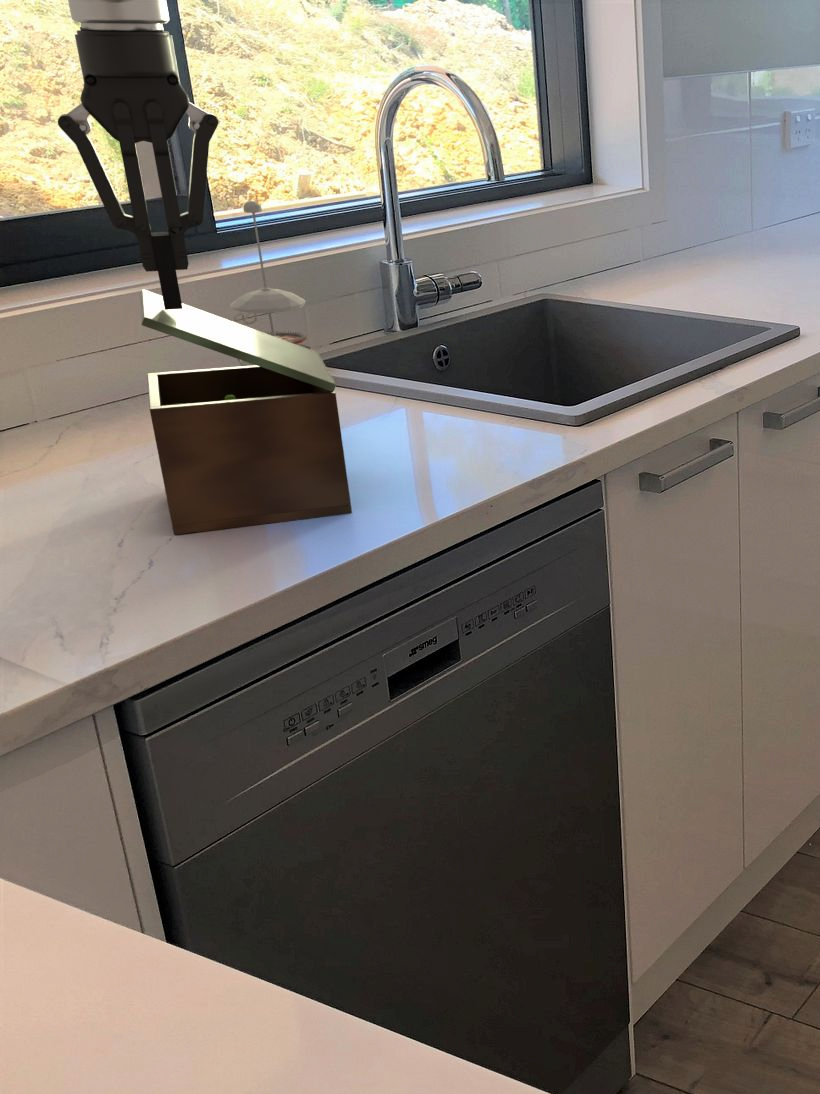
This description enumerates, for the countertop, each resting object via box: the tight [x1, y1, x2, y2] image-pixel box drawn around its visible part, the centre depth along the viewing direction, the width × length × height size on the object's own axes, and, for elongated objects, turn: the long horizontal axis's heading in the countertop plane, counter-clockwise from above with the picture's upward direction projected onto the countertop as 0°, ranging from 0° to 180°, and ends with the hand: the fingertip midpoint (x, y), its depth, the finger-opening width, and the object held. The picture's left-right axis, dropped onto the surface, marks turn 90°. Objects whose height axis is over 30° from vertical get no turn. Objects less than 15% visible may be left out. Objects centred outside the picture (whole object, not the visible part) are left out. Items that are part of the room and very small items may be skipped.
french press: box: [230, 200, 312, 366], centre depth 161 cm, size 10×12×25 cm
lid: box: [139, 288, 337, 392], centre depth 132 cm, size 17×15×1 cm
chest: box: [146, 365, 353, 536], centre depth 136 cm, size 16×15×12 cm
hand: (173, 306), depth 128 cm, fingers closed
